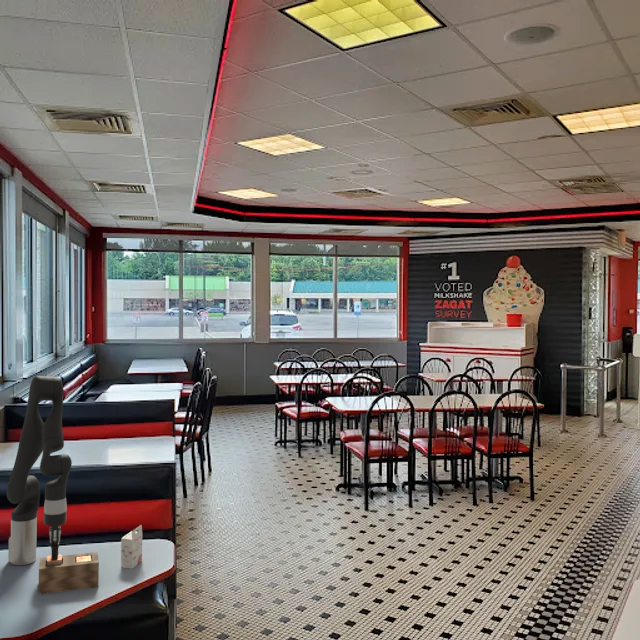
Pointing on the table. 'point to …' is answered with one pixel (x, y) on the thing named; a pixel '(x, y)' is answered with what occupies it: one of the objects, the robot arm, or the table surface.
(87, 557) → the peg far
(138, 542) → the ink cartridge box
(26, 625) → the table surface
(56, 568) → the walnut block
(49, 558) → the peg near
